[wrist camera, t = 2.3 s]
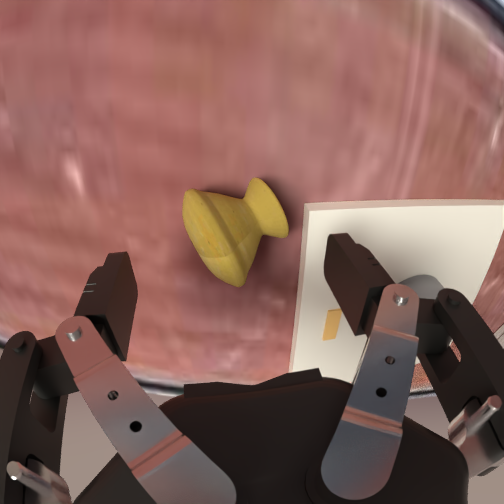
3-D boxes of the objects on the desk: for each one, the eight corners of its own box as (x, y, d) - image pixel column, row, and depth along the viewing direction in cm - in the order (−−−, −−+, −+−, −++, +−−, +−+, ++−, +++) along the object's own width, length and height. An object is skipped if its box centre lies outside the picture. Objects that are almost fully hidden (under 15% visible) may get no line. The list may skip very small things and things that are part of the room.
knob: (210, 258, 18) (213, 319, 14) (171, 183, 15) (158, 229, 11) (286, 230, 18) (311, 285, 14) (257, 148, 15) (277, 182, 11)
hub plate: (503, 200, 19) (533, 222, 16) (440, 348, 29) (455, 373, 25) (304, 203, 17) (327, 237, 14) (286, 385, 27) (295, 419, 24)
